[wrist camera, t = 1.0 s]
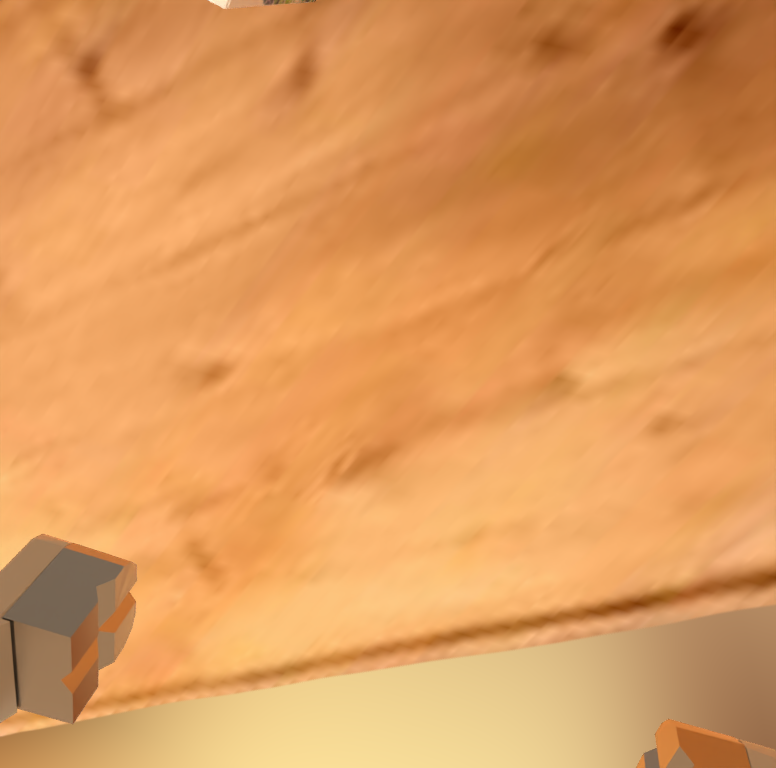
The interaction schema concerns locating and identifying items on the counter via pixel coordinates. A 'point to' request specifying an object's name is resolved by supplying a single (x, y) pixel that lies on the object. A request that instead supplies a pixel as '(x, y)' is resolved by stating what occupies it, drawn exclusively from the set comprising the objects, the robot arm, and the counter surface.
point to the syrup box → (254, 3)
